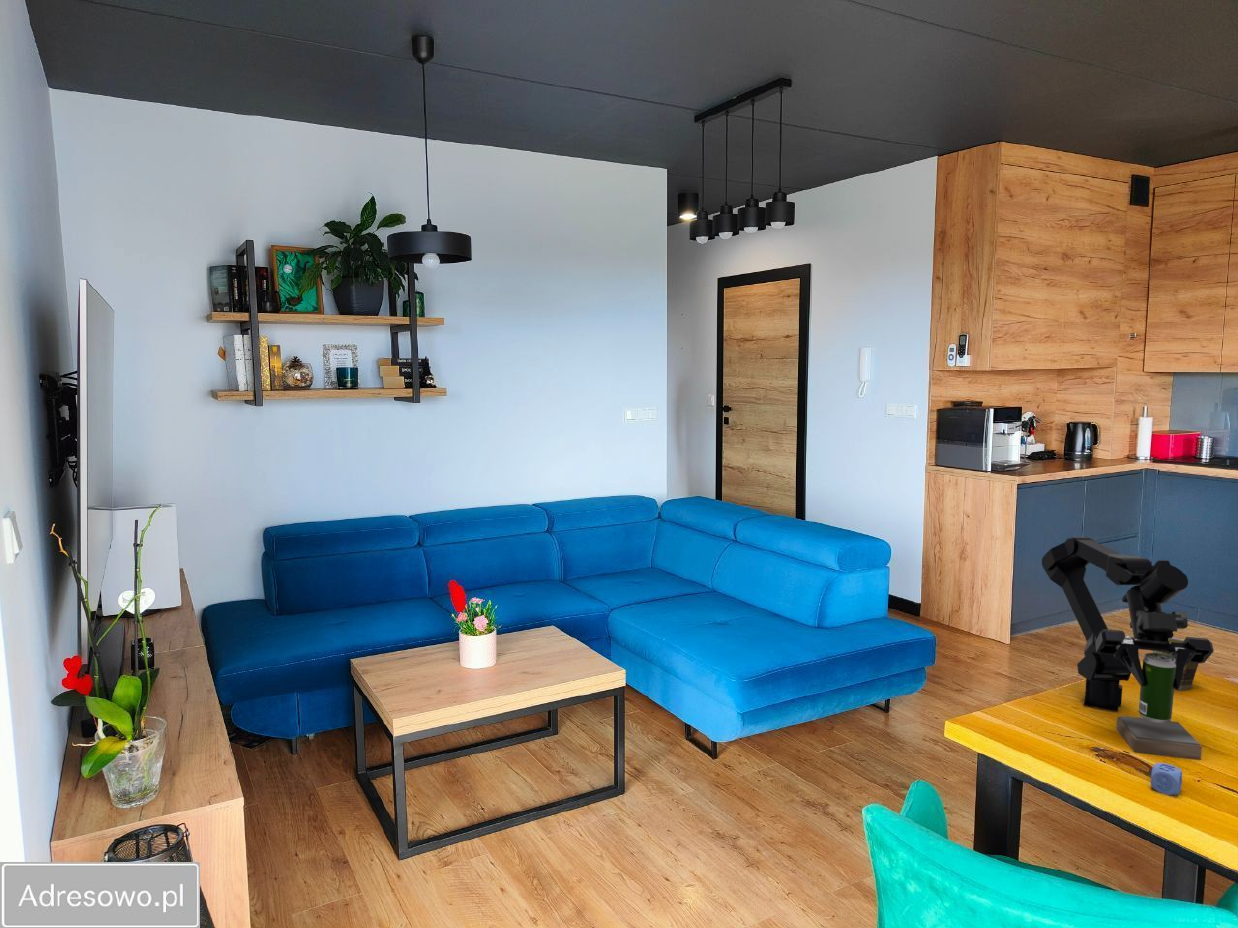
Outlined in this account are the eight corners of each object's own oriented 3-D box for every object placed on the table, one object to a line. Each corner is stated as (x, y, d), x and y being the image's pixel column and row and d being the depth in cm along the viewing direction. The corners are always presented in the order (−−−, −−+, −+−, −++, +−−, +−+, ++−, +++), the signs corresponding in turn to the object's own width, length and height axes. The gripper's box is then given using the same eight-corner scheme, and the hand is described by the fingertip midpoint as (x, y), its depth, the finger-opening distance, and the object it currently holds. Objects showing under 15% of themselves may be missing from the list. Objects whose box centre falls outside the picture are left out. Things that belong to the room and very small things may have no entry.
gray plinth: (1116, 729, 167) (1117, 714, 166) (1177, 735, 164) (1179, 721, 163) (1134, 752, 156) (1135, 737, 156) (1200, 759, 153) (1202, 744, 153)
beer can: (1154, 724, 154) (1159, 663, 152) (1131, 712, 159) (1136, 653, 157) (1178, 722, 155) (1184, 661, 153) (1154, 710, 160) (1160, 651, 158)
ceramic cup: (1147, 674, 199) (1150, 634, 198) (1197, 682, 194) (1200, 641, 193) (1150, 691, 187) (1153, 649, 186) (1203, 700, 182) (1207, 657, 181)
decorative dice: (1181, 789, 142) (1183, 767, 141) (1177, 798, 139) (1179, 775, 138) (1154, 782, 144) (1155, 760, 144) (1149, 790, 141) (1151, 768, 141)
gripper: (1104, 589, 160) (1115, 663, 151) (1214, 598, 155) (1233, 674, 146) (1090, 616, 169) (1100, 687, 160) (1195, 625, 163) (1211, 699, 154)
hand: (1160, 687), depth 155 cm, fingers closed on beer can, 5 cm apart
